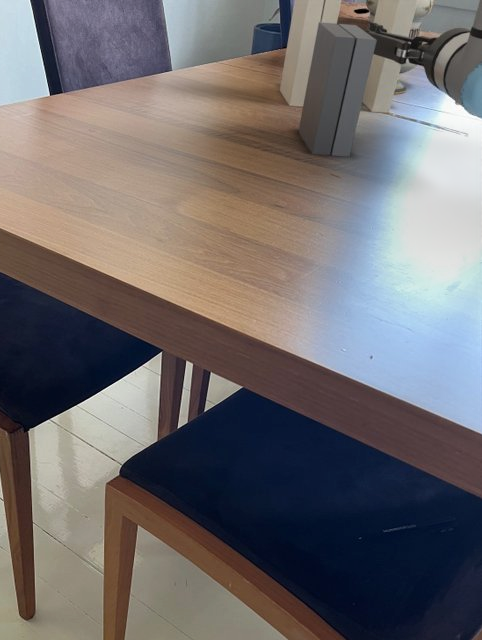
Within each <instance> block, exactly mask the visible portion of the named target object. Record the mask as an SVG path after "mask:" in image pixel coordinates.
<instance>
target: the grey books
mask: <svg viewBox="0 0 482 640" xmlns="http://www.w3.org/2000/svg"><path fill="white" fill-rule="evenodd" d="M376 41H377V40H376V39H375V38H373V37H372V36H370V35H369V34H367V33H366V32H365V31H363V30H362V29H360V28H359V27H358V26H356V25H347V24H338V25H337V24H334V23H321V22H319V24H318V30H317V35H316V40H315V46H314V51H313V56H312V62H311V67H310V72H309V78H308V83H307V88H306V93H305V99H304V104H303V107H302V110H301V116H300V120H299V125H298V131H297V132H298V133H299V135H300V137H301V138H302V141H304V143H305V145H306V146H307V148H308V149H309V152H310V153H311V154H312V155H321V156H335V157H350V156H351V152H352V148H353V143H354V138H355V135H356V131H357V127H358V121H359V119H360V118H359V117H360V114H361V113H360V112H361V109H362V104H363V102H362V101H363V96H364V92H365V88H366V84H367V79H368V75H369V71H370V67H371V62H372V58H373V54H374V50H375V45H376Z"/></svg>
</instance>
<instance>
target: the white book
mask: <svg viewBox="0 0 482 640" xmlns="http://www.w3.org/2000/svg"><path fill="white" fill-rule="evenodd" d="M417 1H418V0H379V1H378V5H377V9H376V14H375V18H374V23H377V24H378V25H383V28H384V29H386V30H387V33H391V34H396V35H401V36H405V37H409V33H410V29H411V25H412V21H413V17H414V13H415V9H416V5H417ZM400 68H401V64H399V63H397V62H395V61H393V60H391V59H387V58H384V57H381V56H378V55H375V54H373V58H372V62H371V67H370V71H369V75H368V79H367V84H366V88H365V92H364V96H363V101H362V104H364V106H365V107H366V108H368V109H369V111H370V112H371V113H383V114H389V113H390V110H391V106H392V102H393V98H394V95H395V94H394V91H395V87H396V83H397V81H399V75H400V74H399V72H400Z"/></svg>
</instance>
